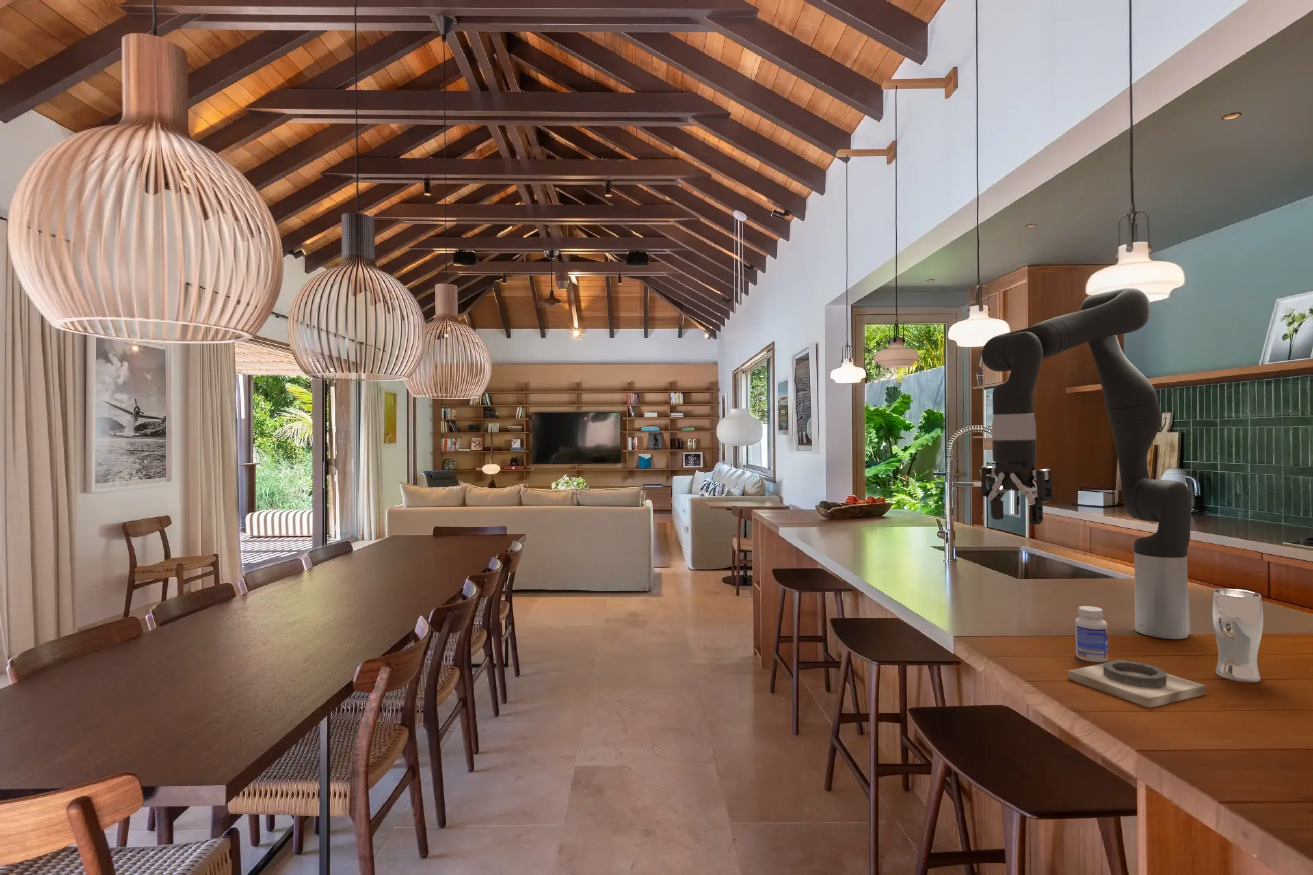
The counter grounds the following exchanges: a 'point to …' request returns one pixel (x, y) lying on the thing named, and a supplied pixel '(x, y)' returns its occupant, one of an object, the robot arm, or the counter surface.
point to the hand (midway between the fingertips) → (1016, 521)
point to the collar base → (1138, 692)
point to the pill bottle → (1091, 635)
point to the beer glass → (1237, 633)
